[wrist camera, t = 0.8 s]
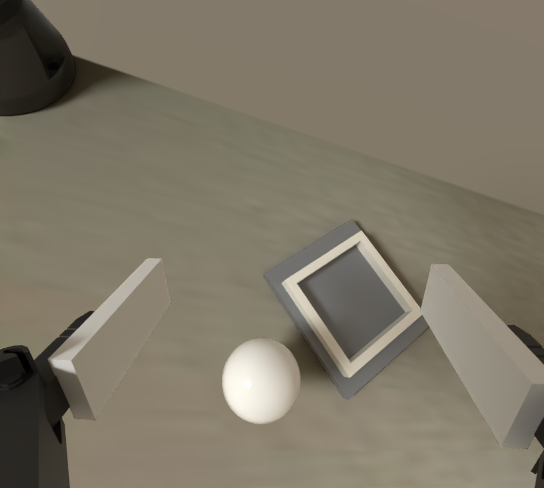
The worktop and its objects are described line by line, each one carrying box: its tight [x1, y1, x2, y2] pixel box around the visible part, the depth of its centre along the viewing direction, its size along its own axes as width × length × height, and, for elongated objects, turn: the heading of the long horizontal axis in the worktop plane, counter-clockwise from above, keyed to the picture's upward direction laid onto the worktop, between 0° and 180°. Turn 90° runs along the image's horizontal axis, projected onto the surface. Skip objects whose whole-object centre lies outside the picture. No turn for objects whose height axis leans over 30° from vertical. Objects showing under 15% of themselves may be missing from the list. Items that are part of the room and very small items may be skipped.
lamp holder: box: [263, 219, 429, 399], centre depth 35 cm, size 16×14×3 cm
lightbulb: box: [222, 338, 301, 424], centre depth 26 cm, size 6×6×11 cm
